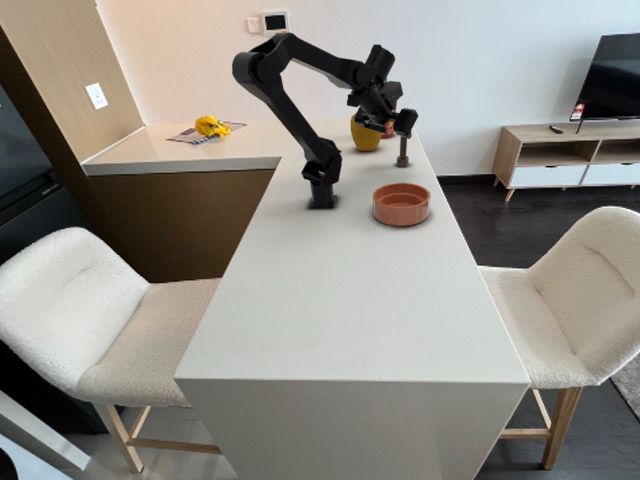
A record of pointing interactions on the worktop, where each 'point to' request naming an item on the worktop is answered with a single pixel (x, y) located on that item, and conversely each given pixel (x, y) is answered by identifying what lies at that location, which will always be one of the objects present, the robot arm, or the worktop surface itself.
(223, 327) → the worktop surface
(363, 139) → the apple
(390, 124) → the smoothie
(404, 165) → the stick
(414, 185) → the bowl
